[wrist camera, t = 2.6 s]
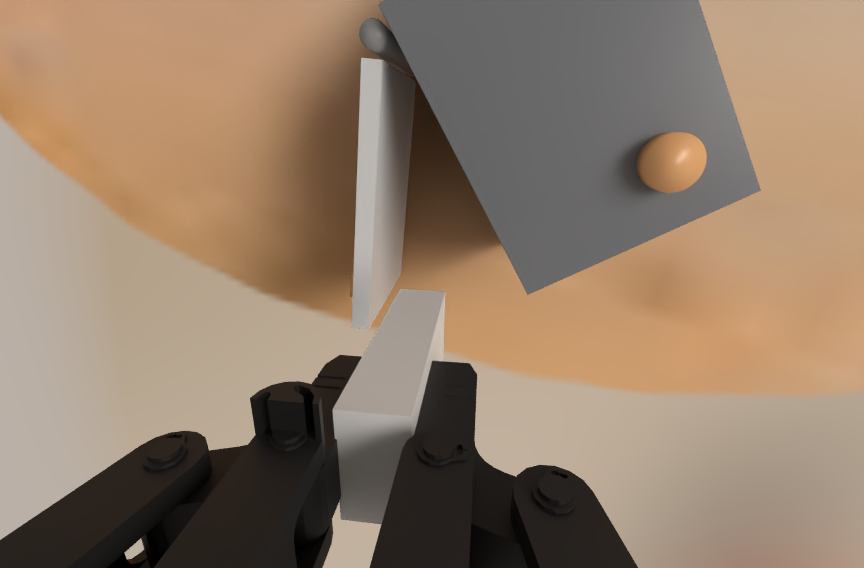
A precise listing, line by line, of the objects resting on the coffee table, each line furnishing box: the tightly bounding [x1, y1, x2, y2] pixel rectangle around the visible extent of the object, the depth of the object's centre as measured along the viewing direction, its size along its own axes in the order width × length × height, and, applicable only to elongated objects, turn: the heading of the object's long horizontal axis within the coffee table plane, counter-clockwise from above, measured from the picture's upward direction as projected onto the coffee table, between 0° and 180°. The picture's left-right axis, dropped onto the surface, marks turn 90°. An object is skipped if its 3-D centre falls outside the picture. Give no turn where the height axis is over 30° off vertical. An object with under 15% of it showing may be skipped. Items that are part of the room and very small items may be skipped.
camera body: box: [379, 0, 761, 294], centre depth 18 cm, size 14×9×10 cm, turn 29°
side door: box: [350, 18, 416, 330], centre depth 21 cm, size 12×2×8 cm, turn 174°
